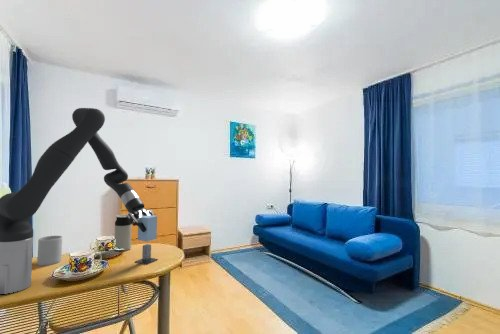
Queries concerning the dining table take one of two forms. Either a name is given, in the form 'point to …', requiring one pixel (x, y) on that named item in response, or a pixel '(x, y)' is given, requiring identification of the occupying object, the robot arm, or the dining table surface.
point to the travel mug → (123, 232)
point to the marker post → (146, 255)
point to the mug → (49, 250)
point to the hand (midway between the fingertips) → (150, 229)
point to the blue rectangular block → (148, 228)
